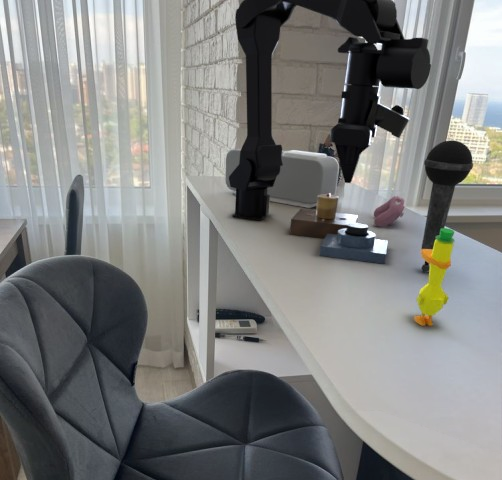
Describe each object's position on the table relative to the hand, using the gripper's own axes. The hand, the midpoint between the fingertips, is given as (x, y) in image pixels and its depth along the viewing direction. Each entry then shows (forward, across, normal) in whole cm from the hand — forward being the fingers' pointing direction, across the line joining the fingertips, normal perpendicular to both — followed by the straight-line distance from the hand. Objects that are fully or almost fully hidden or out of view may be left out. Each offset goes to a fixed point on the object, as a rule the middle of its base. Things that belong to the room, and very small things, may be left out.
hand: (347, 182), depth 90 cm
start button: (+8, -6, -3) cm, 10 cm away
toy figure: (+11, -33, -15) cm, 37 cm away
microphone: (+11, -12, -15) cm, 22 cm away
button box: (+11, -6, -3) cm, 13 cm away
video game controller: (+11, +20, -8) cm, 25 cm away
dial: (+8, +6, +4) cm, 11 cm away
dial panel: (+11, +6, +4) cm, 13 cm away
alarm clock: (+12, +34, +20) cm, 41 cm away
